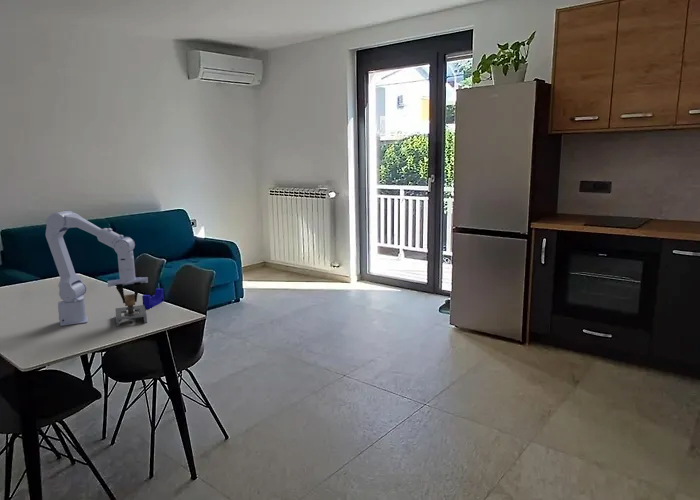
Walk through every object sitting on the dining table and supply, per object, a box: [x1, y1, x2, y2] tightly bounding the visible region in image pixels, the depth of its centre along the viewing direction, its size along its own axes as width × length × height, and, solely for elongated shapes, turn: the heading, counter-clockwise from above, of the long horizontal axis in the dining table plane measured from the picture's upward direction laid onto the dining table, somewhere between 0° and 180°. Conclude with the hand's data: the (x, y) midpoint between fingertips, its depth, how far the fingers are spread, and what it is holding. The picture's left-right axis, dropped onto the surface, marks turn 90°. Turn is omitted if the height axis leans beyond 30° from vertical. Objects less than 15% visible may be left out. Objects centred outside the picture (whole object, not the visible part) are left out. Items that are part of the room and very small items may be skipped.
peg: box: [123, 293, 139, 316], centre depth 202 cm, size 5×5×8 cm
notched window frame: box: [115, 304, 148, 328], centre depth 204 cm, size 11×14×3 cm
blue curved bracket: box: [141, 288, 165, 310], centre depth 224 cm, size 12×4×6 cm, turn 171°
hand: (129, 301), depth 201 cm, fingers closed on peg, 4 cm apart
